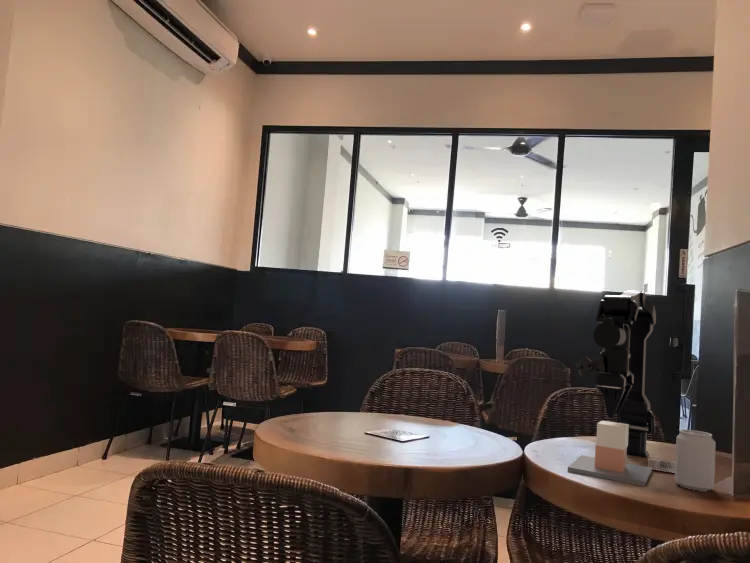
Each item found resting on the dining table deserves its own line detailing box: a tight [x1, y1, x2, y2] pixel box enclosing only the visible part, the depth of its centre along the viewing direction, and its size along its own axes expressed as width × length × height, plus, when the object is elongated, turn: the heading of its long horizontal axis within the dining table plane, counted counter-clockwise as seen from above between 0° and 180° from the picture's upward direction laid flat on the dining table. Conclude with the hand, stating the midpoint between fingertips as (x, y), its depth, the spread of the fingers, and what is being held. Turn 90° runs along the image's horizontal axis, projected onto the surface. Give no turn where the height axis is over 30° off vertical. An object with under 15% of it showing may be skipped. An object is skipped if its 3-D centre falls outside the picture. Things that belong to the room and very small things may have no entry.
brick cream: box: [595, 420, 630, 450], centre depth 135 cm, size 6×6×5 cm
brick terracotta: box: [594, 444, 628, 472], centre depth 135 cm, size 6×6×5 cm
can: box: [674, 429, 716, 492], centre depth 126 cm, size 8×8×12 cm
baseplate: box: [567, 454, 653, 487], centre depth 134 cm, size 16×16×1 cm
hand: (613, 415), depth 135 cm, fingers open, 9 cm apart
